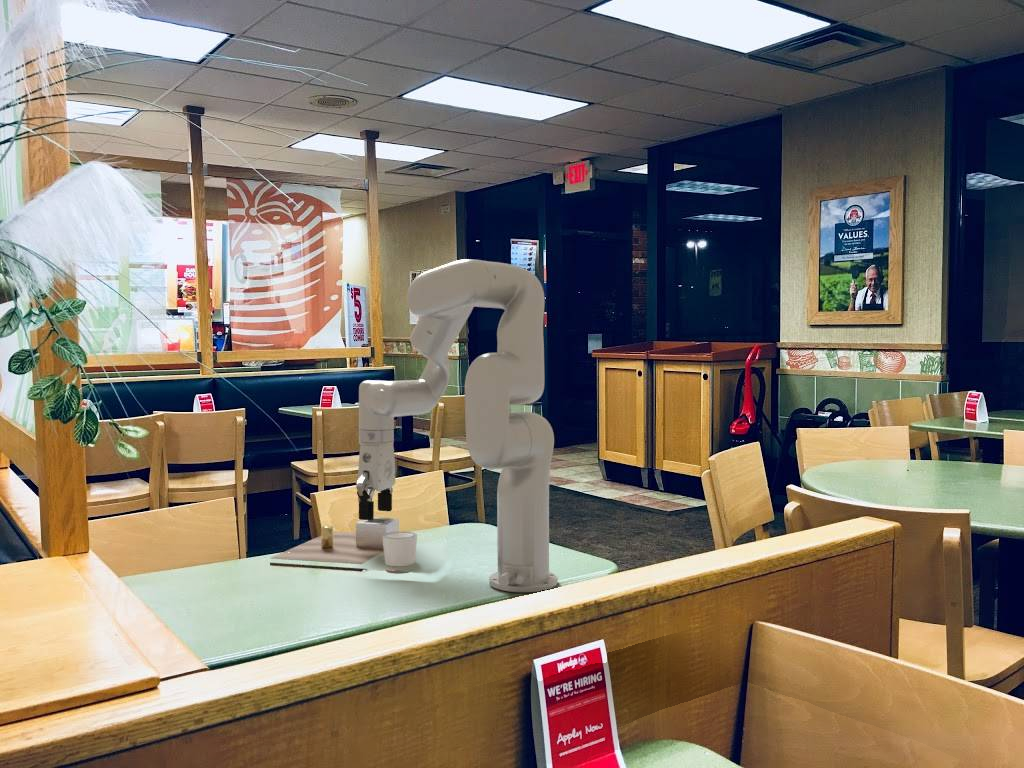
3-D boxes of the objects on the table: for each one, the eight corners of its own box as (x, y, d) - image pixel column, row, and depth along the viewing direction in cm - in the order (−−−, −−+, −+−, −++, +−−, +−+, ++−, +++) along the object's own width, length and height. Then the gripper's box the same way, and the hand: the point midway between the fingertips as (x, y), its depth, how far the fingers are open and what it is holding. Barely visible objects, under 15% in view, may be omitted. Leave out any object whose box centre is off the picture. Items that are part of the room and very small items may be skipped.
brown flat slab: (360, 571, 155) (360, 563, 155) (269, 565, 160) (269, 558, 160) (410, 542, 180) (410, 535, 180) (330, 537, 185) (330, 531, 185)
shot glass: (421, 565, 159) (420, 531, 159) (413, 574, 152) (413, 538, 152) (387, 565, 160) (387, 530, 160) (378, 574, 153) (378, 538, 153)
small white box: (386, 548, 168) (386, 524, 168) (355, 546, 170) (355, 523, 170) (398, 540, 175) (398, 518, 175) (369, 539, 177) (369, 517, 176)
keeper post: (329, 549, 167) (329, 528, 167) (319, 548, 168) (319, 527, 168) (334, 546, 170) (334, 525, 170) (324, 546, 170) (324, 525, 170)
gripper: (375, 442, 163) (375, 524, 163) (407, 433, 179) (406, 508, 180) (342, 440, 164) (341, 522, 165) (376, 432, 181) (376, 506, 182)
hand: (375, 515), depth 173 cm, fingers open, 9 cm apart
